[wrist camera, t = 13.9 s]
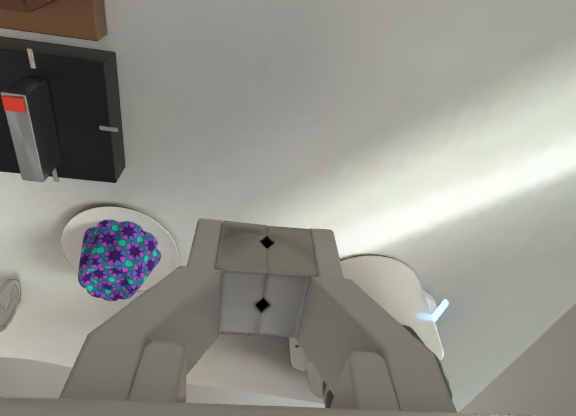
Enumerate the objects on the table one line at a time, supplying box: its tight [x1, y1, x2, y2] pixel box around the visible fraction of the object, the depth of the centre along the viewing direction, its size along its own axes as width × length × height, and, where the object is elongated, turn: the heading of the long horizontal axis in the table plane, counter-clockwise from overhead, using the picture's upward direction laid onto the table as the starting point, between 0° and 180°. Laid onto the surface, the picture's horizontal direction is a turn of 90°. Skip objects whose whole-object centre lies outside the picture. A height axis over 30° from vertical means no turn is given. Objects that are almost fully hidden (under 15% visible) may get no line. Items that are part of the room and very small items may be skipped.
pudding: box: [61, 207, 178, 301], centre depth 42 cm, size 12×12×5 cm
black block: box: [0, 37, 125, 183], centre depth 34 cm, size 11×11×3 cm
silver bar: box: [1, 77, 62, 182], centre depth 31 cm, size 7×2×4 cm, turn 171°
